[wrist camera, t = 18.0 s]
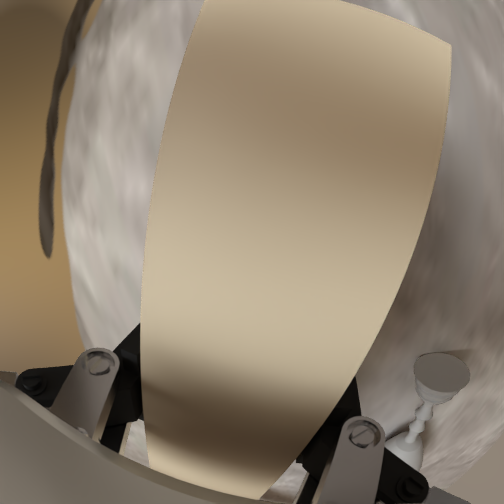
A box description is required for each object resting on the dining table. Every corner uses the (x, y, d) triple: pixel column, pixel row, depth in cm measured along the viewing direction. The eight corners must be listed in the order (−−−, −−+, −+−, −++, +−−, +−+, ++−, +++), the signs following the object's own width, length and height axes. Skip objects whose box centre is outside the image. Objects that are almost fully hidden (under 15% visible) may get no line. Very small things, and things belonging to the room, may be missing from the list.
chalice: (483, 405, 10) (401, 507, 15) (478, 352, 16) (416, 464, 20) (392, 391, 15) (344, 494, 19) (406, 341, 20) (366, 454, 24)
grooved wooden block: (259, 77, 9) (210, -13, 3) (375, 107, 8) (450, 45, 3) (188, 429, 15) (155, 497, 9) (252, 448, 15) (233, 522, 9)
